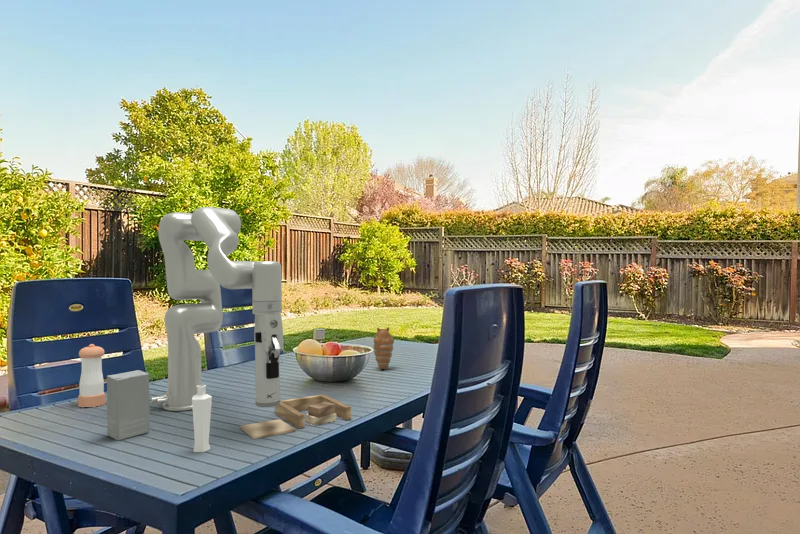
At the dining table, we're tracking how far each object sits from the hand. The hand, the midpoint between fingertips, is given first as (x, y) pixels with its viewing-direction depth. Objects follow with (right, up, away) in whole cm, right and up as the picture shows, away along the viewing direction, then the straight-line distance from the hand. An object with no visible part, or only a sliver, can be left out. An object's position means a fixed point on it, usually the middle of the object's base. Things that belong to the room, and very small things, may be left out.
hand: (267, 375), depth 137 cm
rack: (+10, -14, +13) cm, 21 cm away
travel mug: (0, -8, 0) cm, 8 cm away
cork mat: (0, -14, 0) cm, 14 cm away
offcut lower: (+13, -15, +8) cm, 21 cm away
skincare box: (-35, -15, -4) cm, 38 cm away
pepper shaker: (-62, -15, +26) cm, 69 cm away
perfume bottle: (-12, -15, -15) cm, 24 cm away
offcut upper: (+13, -12, +7) cm, 19 cm away
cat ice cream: (+28, -15, +82) cm, 88 cm away
